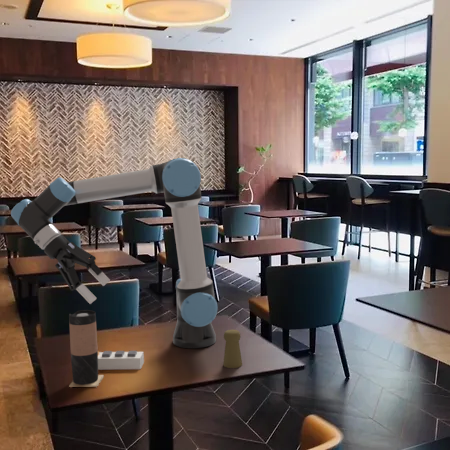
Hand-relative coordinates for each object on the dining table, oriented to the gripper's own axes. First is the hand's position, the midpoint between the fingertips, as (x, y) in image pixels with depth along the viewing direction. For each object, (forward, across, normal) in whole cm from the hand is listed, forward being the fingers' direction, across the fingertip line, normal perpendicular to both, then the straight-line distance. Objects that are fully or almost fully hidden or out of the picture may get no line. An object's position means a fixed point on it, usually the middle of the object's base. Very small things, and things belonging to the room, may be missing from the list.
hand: (100, 292), depth 173 cm
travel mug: (+16, -9, -18) cm, 26 cm away
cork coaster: (+17, -9, -18) cm, 26 cm away
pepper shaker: (+45, +4, +14) cm, 47 cm away
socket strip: (+19, -15, -6) cm, 25 cm away
